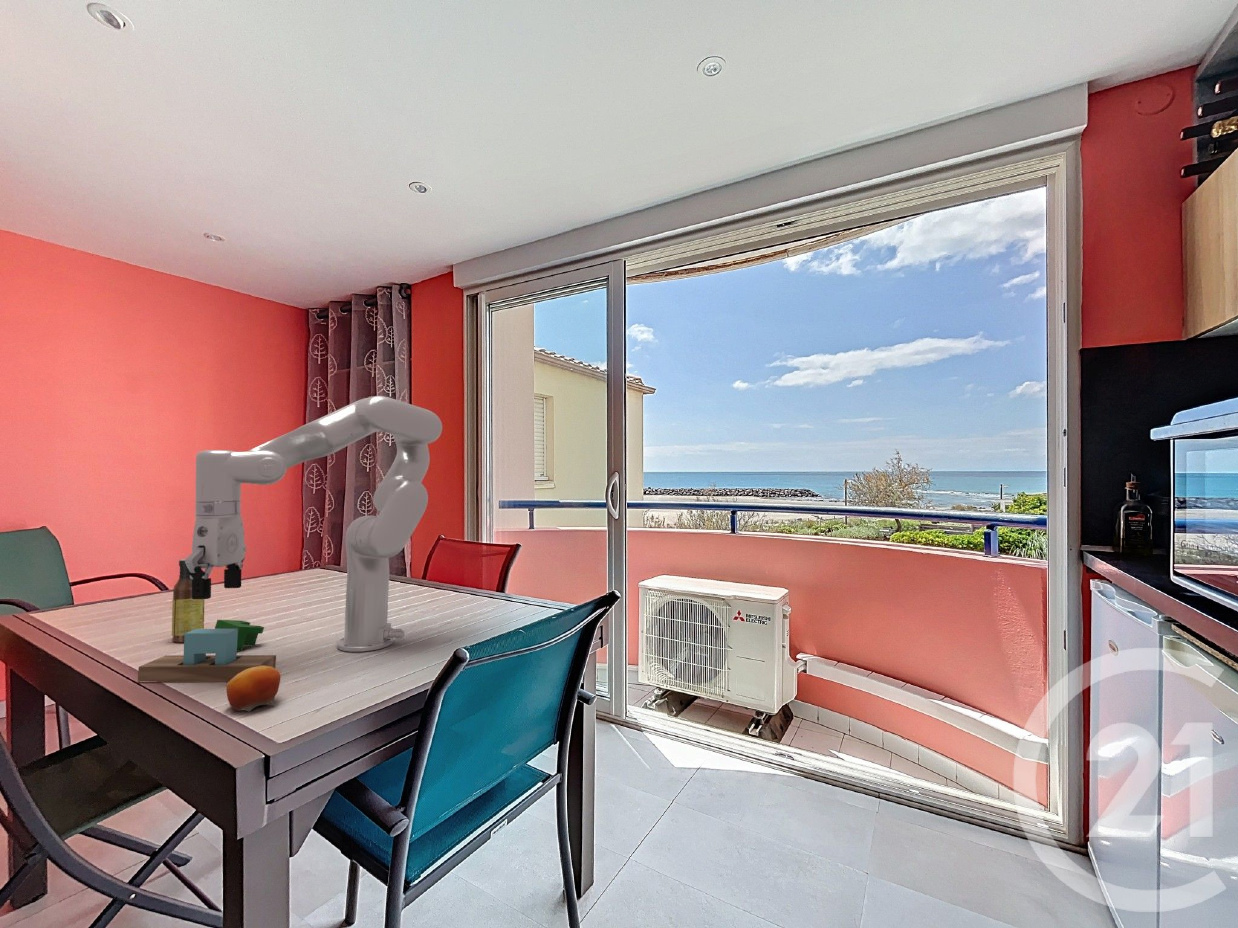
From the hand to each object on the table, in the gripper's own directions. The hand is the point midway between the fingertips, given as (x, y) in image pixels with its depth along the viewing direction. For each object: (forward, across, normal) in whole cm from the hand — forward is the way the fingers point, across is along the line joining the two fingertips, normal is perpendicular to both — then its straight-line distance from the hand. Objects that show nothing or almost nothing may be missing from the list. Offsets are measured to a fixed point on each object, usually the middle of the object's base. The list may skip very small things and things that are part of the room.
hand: (217, 593), depth 111 cm
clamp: (+17, +20, +8) cm, 27 cm away
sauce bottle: (+17, +24, +22) cm, 37 cm away
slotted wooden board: (+17, -1, +1) cm, 17 cm away
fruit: (+17, -16, -16) cm, 28 cm away
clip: (+17, -1, +1) cm, 17 cm away
